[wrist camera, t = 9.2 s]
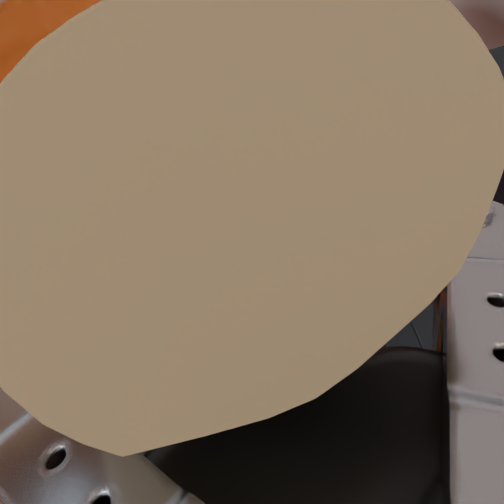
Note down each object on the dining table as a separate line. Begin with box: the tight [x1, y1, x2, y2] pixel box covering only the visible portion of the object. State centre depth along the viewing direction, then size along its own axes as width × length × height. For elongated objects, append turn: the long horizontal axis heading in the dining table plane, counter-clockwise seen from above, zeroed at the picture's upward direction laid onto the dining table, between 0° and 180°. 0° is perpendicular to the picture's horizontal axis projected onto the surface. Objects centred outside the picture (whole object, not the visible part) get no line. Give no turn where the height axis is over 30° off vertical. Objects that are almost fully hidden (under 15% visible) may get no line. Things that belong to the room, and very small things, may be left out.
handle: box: [0, 0, 504, 457], centre depth 11 cm, size 5×6×15 cm
